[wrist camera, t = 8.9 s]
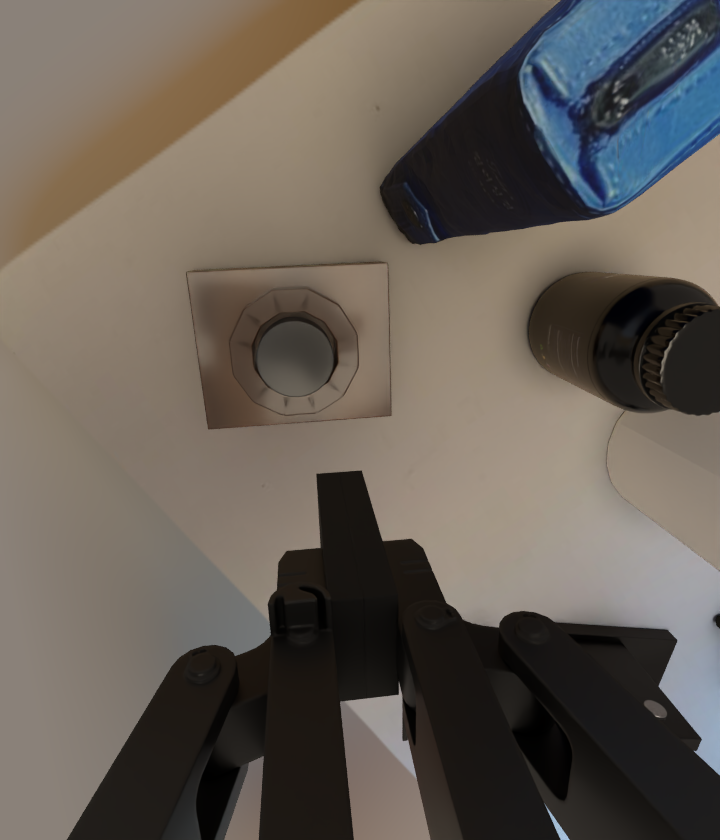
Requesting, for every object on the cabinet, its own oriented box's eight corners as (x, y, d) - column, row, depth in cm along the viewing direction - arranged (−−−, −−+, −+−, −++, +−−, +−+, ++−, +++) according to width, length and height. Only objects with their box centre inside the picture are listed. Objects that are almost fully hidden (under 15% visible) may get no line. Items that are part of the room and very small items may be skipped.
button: (262, 391, 29) (260, 399, 27) (254, 318, 28) (251, 323, 26) (333, 386, 29) (336, 394, 28) (329, 314, 28) (331, 318, 26)
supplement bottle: (606, 250, 32) (772, 250, 21) (638, 345, 35) (804, 392, 23) (507, 304, 33) (619, 333, 21) (546, 395, 35) (665, 465, 24)
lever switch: (490, 680, 42) (544, 801, 33) (509, 619, 40) (571, 729, 31) (644, 687, 44) (735, 803, 35) (667, 630, 43) (770, 735, 33)
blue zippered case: (414, 259, 31) (594, 274, 12) (360, 182, 29) (472, 63, 11) (614, 95, 30) (1173, -175, 11) (568, 5, 28) (1134, -505, 9)
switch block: (213, 418, 33) (202, 440, 29) (193, 270, 30) (178, 273, 26) (385, 405, 34) (396, 425, 30) (382, 261, 31) (393, 263, 27)
